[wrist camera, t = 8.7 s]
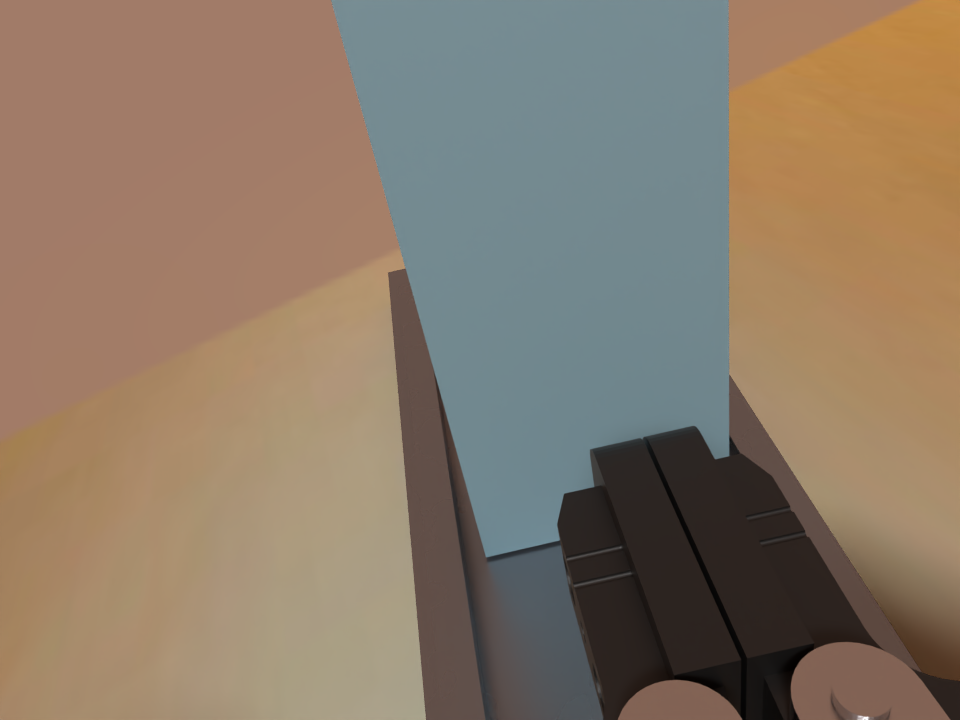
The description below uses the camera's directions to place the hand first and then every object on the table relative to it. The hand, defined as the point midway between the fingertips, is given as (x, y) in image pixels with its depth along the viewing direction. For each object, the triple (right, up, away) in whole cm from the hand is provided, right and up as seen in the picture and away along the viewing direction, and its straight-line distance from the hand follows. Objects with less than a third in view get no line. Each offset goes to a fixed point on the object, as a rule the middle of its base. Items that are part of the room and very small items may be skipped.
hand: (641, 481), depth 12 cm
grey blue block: (0, +1, +13) cm, 13 cm away
